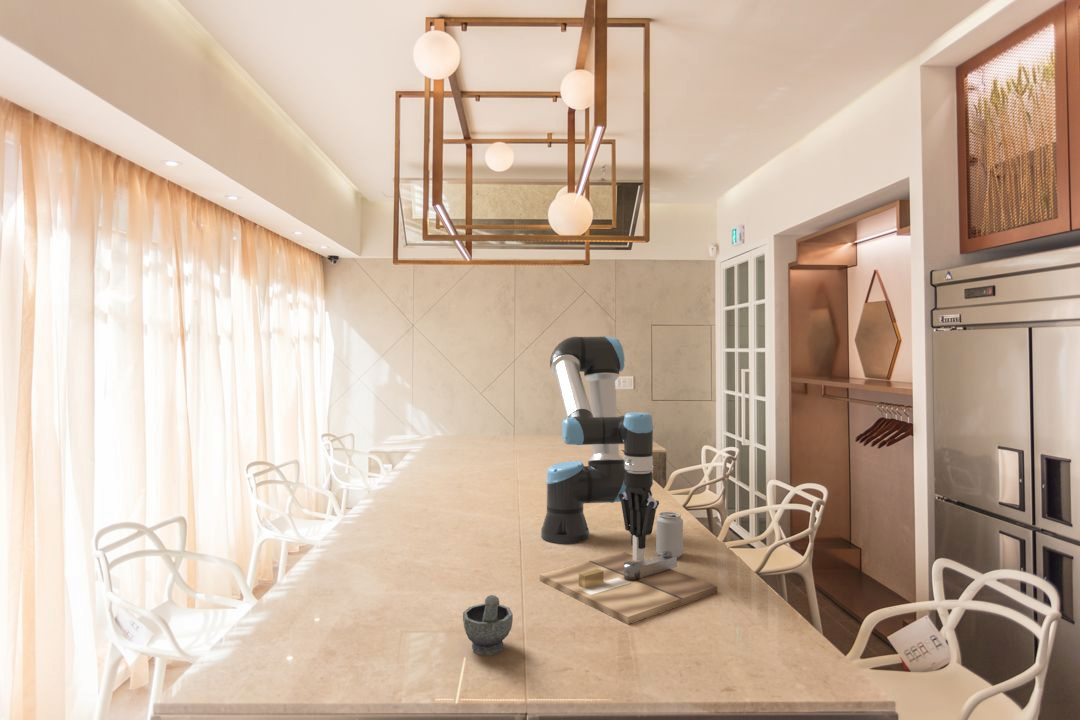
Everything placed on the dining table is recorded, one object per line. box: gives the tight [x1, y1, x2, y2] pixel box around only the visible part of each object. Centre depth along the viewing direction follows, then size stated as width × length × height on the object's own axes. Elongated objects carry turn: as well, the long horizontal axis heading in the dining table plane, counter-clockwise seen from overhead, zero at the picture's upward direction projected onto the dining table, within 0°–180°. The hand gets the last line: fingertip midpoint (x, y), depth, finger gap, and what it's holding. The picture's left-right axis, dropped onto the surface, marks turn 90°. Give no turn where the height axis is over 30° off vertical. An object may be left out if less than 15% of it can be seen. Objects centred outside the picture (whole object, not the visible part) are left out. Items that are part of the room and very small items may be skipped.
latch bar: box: [624, 551, 678, 581], centre depth 159 cm, size 17×4×4 cm, turn 126°
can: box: [655, 511, 684, 559], centre depth 178 cm, size 8×8×12 cm
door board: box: [539, 551, 718, 625], centre depth 154 cm, size 32×30×5 cm
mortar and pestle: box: [462, 594, 514, 656], centre depth 121 cm, size 11×9×12 cm
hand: (638, 559), depth 165 cm, fingers closed
